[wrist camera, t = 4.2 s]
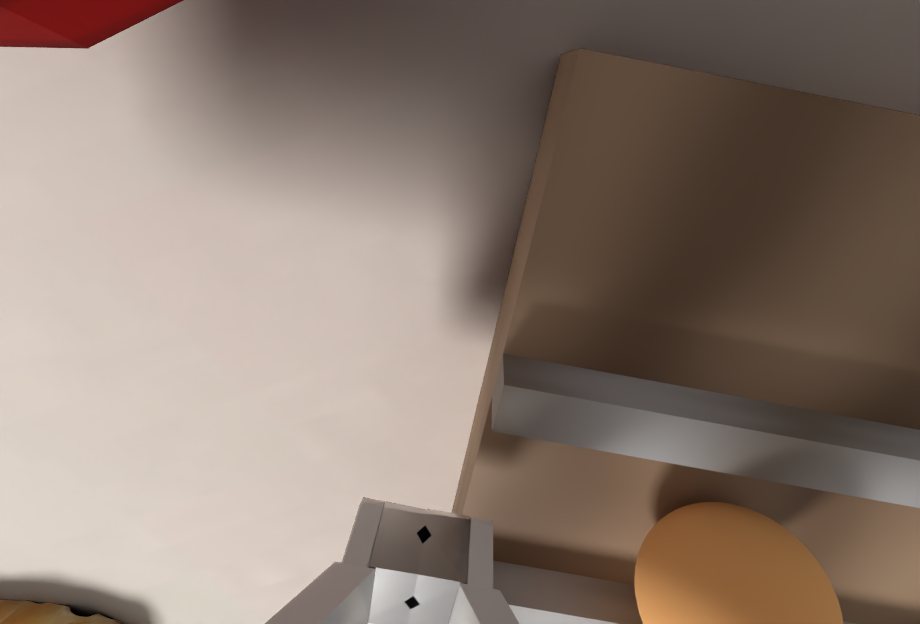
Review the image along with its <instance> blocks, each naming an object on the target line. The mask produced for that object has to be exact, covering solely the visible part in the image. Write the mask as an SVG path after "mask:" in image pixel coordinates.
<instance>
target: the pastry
mask: <svg viewBox="0 0 920 624" xmlns="http://www.w3.org/2000/svg"><path fill="white" fill-rule="evenodd" d="M0 624H123V623H121V622H119V621H118V620H115V619H109V618H107V617H105V616H102V615H100V614H98V613H97V614H95V615H92V616H89V617H81V616H77V615H74V614H73V613H71V611H70V607H67V606H63V605H58V604H54V603H49V602H46V603H43V604H37V603H34V602H31V601H20V600H5V599H0Z"/></svg>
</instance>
